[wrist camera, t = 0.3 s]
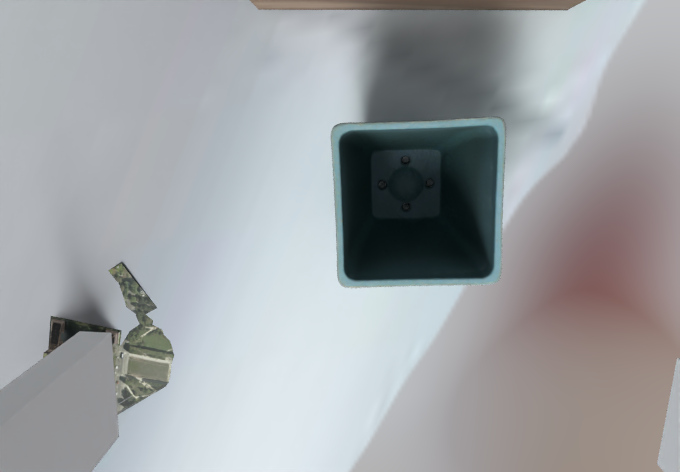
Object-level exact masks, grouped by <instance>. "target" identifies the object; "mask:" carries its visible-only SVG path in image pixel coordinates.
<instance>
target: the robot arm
mask: <svg viewBox="0 0 680 472" xmlns="http://www.w3.org/2000/svg"><path fill="white" fill-rule="evenodd" d="M118 437H119V430H118V417H117V403H116V390H115V376H114V363H113V349H112V336H111V333H105V332H83V331H79V332H78V333H77V334H75V335H74V336H73V337H71V338H70V339H69V340H67V341H66V342H64V343H63V344H62V345H60V346H59V347H58V348H56V349H55V350H54V351H52V352H51V353H50V354H48V355H47V356H46V357H44V358H43V359H42V360H40V361H39V362H38V363H36V364H35V365H33V366H32V367H31V368H29V369H28V370H27V371H25V372H24V373H23V374H21V375H20V376H19V377H17V378H16V379H15V380H13V381H12V382H11V383H9V384H8V385H6V386H5V387H4V388H2V389H1V390H0V472H92V471H93V469H94V468H95V467H96V465H97V464H98V463H99V462H100V460H101V459H102V458H103V456H104V455H105V454H106V452H107V451H108V450H109V449H110V447H111V446H112V445H113V443H114V442H115V441H116V440H117V438H118ZM657 464H658V465H659V467H660V468H661V469H662V470H663V471H664V472H680V358H677V362H676V367H675V373H674V378H673V383H672V388H671V394H670V399H669V404H668V410H667V415H666V420H665V425H664V430H663V436H662V441H661V446H660V452H659V457H658V462H657Z"/></svg>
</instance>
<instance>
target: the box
mask: <svg viewBox="0 0 680 472" xmlns="http://www.w3.org/2000/svg"><path fill="white" fill-rule="evenodd" d="M250 1H251V2H252V3H253V4H254V5H255V6H256V7H257V8H258V9H283V10H568V9H570V8H572V7H574V6H576V5H577V4H579V3H581V2H583V1H585V0H250Z"/></svg>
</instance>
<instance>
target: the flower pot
mask: <svg viewBox="0 0 680 472" xmlns="http://www.w3.org/2000/svg"><path fill="white" fill-rule="evenodd" d="M505 146H506V126H505V122H504V120H503V119H502V118H500V117H482V118H466V119H448V120H429V121H403V122H366V123H340V124H337V125H335V126H334V127H333V129H332V131H331V149H332V162H333V177H334V197H335V218H336V241H337V276H338V281H339V283H340V284H341V285H342V286H343V287H347V288H360V287H393V286H434V285H441V286H442V285H488V284H494V283H496V282H498V281H499V279H500V276H501V270H502V218H503V190H504V168H505V167H504V164H505ZM405 156H406V157H408V158H409V163H407V164H403V163H402V158H403V157H405ZM428 179H431V180H433V185H432V186H431V187H428V186H427V185H426V181H427V180H428ZM380 181H384V182H385V183H386V186H385V187H384V188H380V187H379V182H380ZM404 203H408V204H409V205H410V208H409V209H408V210H404V209H403V207H402V206H403V204H404Z"/></svg>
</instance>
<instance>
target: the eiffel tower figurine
mask: <svg viewBox="0 0 680 472" xmlns="http://www.w3.org/2000/svg"><path fill="white" fill-rule="evenodd" d="M109 272H110V273H111V274H112V276H113V277H114V278H115V279H116V281H117V282H119V285H120V288H121V291H122V294H123V297H124V300H125V303H126V307H127V308H129V309H130V310H131V311H133V312H134V313H136V317H137V319H138V321H139V323H140V325H138V326H137V327H135V328H134V329H132V330H131V331H130V332H129V334H128V335H127V337H126V339H125V340H124V342H123V343H122V345H121V346H120V338H121V330H116V329H111V328H106V327H101V326H97V325H92V324H87V323H82V322H77V321H73V320H68V319H63V318H58V317H53V316H51V321H50V336H49V349H48V350H47V351H46V352H44V355H43V358H44V357H46V356H47V355H48V354H50V353H51V352H52V351H54V350H55V349H56V348H58V347H59V346H60V345H62V344H63V343H64V342H66V341H67V340H69V339H70V338H71V337H73V336H74V335H75V334H77V333H78V332H79V331H83V332H105V333H111V336H112V349H113V363H114V376H115V390H116V403H117V415H118V414H119V413H121V412H123V411H124V410H126V409H128V408H130V407H131V406H133V405H135V404H136V403H138V402H140V401H141V400H143V399H145V398H146V397H148V396H150V395H152V394H153V393H155V392H157V391H158V390H160V389H162V388H164V387H165V386H166V385H167V383H168V382H169V377H170V372H171V364H172V360H173V357H174V354H173V350H172V346H171V343H170V341H169V340H168V339H167V338H166V337H165V336H164V334H163V331H162V330H161V329H159V328H158V327H156V326H154V325H152V323H153V320H152V319H150V318H149V317H148V316H147V315H145V314H147V313H148V312H150V311H152V310H154V309H156V308H157V307H156V306H155V305H154V303H153V302H152V301H151V300H150V299H149V297H148V296H147V295H146V294H145V292H144V291H143V290H142V289H141V287H140V286H139V285H138V284H137V283H136V281H135V280H134V279H133V278H132V276H131V275H130V274H129V272H128V271H127V270H126V268H125V267H124V266H123V264H122V263H121V264H119V265H117V266H116V267H114V268H112V269H111V270H109ZM119 346H120V347H119Z"/></svg>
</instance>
